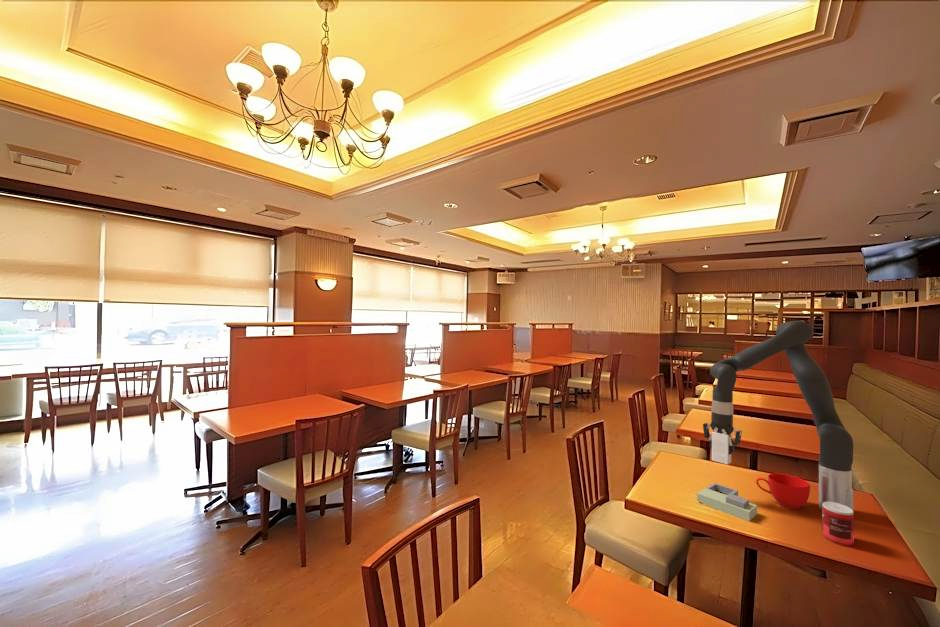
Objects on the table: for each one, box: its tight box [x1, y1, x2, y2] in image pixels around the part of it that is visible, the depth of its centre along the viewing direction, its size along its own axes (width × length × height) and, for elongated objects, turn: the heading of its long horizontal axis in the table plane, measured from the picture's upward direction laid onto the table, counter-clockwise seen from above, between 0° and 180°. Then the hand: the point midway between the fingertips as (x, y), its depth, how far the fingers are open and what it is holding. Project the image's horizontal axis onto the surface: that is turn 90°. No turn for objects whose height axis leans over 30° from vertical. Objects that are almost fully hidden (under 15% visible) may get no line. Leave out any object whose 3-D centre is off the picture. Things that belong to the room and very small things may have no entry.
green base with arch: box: [696, 482, 758, 522], centre depth 154 cm, size 18×18×6 cm
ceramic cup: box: [755, 472, 811, 510], centre depth 154 cm, size 13×17×10 cm
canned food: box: [821, 502, 855, 547], centre depth 130 cm, size 8×8×11 cm
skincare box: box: [711, 431, 732, 465], centre depth 159 cm, size 6×4×12 cm
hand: (721, 451), depth 159 cm, fingers closed on skincare box, 6 cm apart
